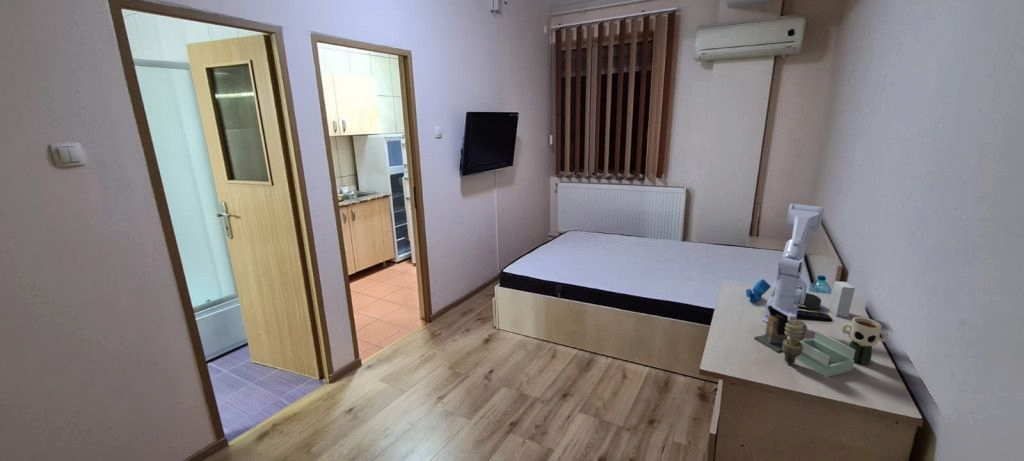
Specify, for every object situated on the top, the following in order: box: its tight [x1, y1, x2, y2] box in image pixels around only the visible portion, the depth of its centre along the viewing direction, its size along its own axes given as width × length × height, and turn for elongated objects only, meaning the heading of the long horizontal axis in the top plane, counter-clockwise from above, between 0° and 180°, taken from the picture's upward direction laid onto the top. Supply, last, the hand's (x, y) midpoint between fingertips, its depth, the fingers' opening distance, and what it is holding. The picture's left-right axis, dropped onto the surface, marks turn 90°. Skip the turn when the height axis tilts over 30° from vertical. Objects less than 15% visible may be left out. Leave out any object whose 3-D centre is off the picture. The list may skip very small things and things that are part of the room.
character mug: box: [841, 316, 889, 365], centre depth 133 cm, size 11×7×13 cm, turn 58°
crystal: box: [745, 278, 771, 304], centre depth 175 cm, size 7×9×12 cm
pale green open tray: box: [795, 330, 855, 378], centre depth 133 cm, size 13×11×6 cm
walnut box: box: [764, 316, 789, 344], centre depth 143 cm, size 4×5×8 cm
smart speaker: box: [803, 292, 822, 311], centre depth 171 cm, size 9×9×4 cm
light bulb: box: [782, 318, 808, 365], centre depth 131 cm, size 6×6×15 cm
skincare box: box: [828, 280, 856, 318], centre depth 163 cm, size 6×4×12 cm
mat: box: [753, 334, 783, 353], centre depth 144 cm, size 9×9×1 cm
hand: (778, 330), depth 143 cm, fingers closed on walnut box, 4 cm apart
